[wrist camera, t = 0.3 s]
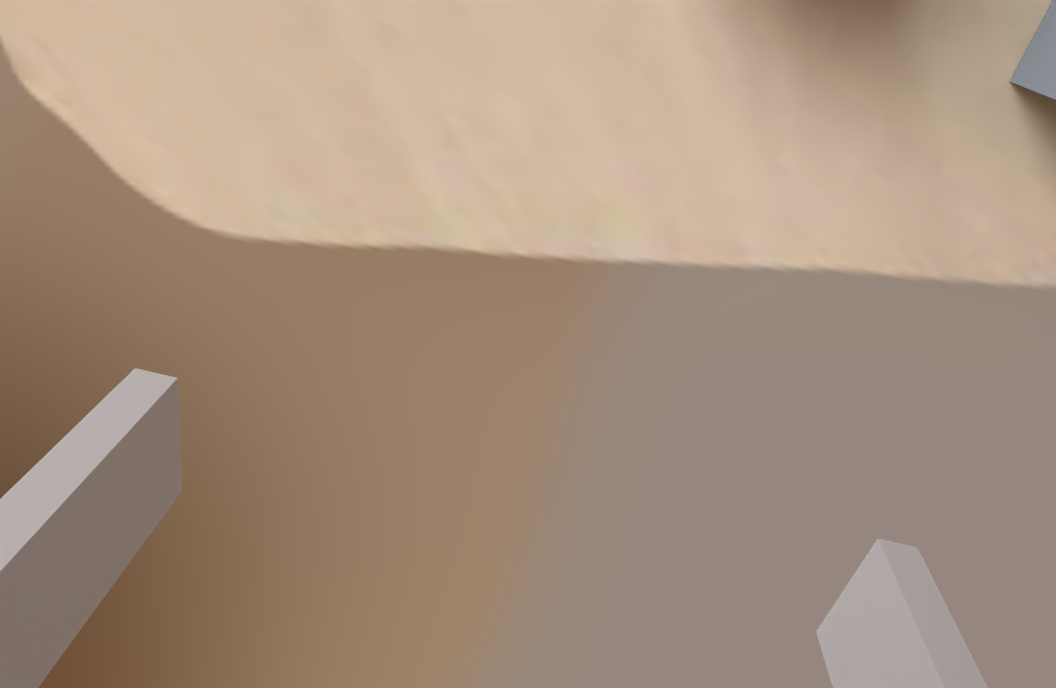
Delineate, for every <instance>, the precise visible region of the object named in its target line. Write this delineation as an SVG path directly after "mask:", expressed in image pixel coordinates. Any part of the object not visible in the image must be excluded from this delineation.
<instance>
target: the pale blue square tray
mask: <svg viewBox="0 0 1056 688" xmlns="http://www.w3.org/2000/svg"><path fill="white" fill-rule="evenodd" d="M1010 82H1012V83H1015V84H1017V85H1020V86H1022V87H1025V88H1027V89H1030V90H1032V91H1035V92H1037V93H1040V94H1042V95H1045V96H1048V97H1050V98H1053V99H1055V100H1056V0H1053V2H1052V4H1051V6H1050V7H1049V9H1048V11H1047V13H1046V15H1045V17H1044V19H1043V21H1042V22H1041V24H1040V26H1039V28H1038V30H1037V32H1036V34H1035V36H1034V37H1033V39H1032V41H1031V43H1030V45H1029V47H1028V49H1027V51H1026V52H1025V54H1024V56H1023V58H1022V60H1021V62H1020V64H1019V66H1018V67H1017V69H1016V71H1015V73H1014V75H1013V77H1012V79H1011V81H1010Z"/></svg>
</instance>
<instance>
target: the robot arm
mask: <svg viewBox="0 0 1056 688" xmlns="http://www.w3.org/2000/svg"><path fill="white" fill-rule="evenodd" d="M179 429H180V428H179V403H178V379H177V378H175V377H171V376H166V375H162V374H157V373H153V372H148V371H144V370H140V369H136V368H135V369H134V370H133V371H132V372H131V373H130V374H129V375H128V376H127V377H126V378H125V379H124V380H123V381H122V382H121V383H120V384H119V385H118V386H117V387H116V388H114V389H113V390H112V392H110V393H109V394H108V395H107V396H106V397H105V398H104V399H103V400H102V401H101V402H100V403H99V404H98V405H97V406H96V407H95V408H94V409H93V410H92V411H91V412H90V413H89V414H88V415H87V416H86V417H85V418H84V419H82V420H81V421H80V423H78V424H77V425H76V426H75V427H74V428H73V429H72V430H71V431H70V432H69V433H68V434H67V435H66V436H65V437H64V438H63V439H62V440H61V441H60V442H59V443H58V444H57V445H56V446H55V447H54V448H53V449H51V450H50V452H49V453H48V454H46V455H45V456H44V457H43V458H42V459H41V460H40V461H39V462H38V463H37V464H36V465H35V466H34V467H33V468H32V469H31V470H30V471H29V472H28V473H27V474H26V475H25V476H24V477H23V478H22V479H21V480H20V481H18V483H17V484H16V485H14V486H13V487H12V488H11V489H10V490H9V491H8V492H7V493H6V494H5V495H4V496H3V497H2V498H1V499H0V688H38V687H39V685H40V684H41V683H42V681H43V680H44V679H45V677H46V676H47V674H48V673H49V672H50V670H51V669H52V668H53V666H54V665H55V663H56V662H57V661H58V659H59V658H60V657H61V655H62V654H63V653H64V651H65V650H66V649H67V647H68V646H69V644H70V643H71V642H72V640H73V639H74V637H75V636H76V635H77V633H78V632H79V631H80V629H81V628H82V627H83V625H84V624H85V622H86V621H87V620H88V618H89V617H90V615H91V614H92V613H93V612H94V610H95V609H96V607H97V606H98V605H99V603H100V602H101V600H102V599H103V598H104V596H105V595H106V594H107V592H108V591H109V590H110V588H111V587H112V586H113V584H114V583H115V581H116V580H117V579H118V577H119V576H120V575H121V573H122V572H123V570H124V569H125V568H126V566H127V565H128V564H129V562H130V561H131V559H132V558H133V557H134V555H135V554H136V553H137V551H138V550H139V549H140V547H141V546H142V544H143V543H144V542H145V540H146V539H147V538H148V536H149V535H150V533H151V532H152V531H153V529H154V528H155V527H156V525H157V524H158V523H159V521H160V520H161V518H162V517H163V516H164V514H165V513H166V511H167V510H168V509H169V507H170V506H171V505H172V503H173V502H174V501H175V499H176V498H177V497H178V495H179V494H180V492H181V491H182V479H181V457H180V456H181V453H180V430H179ZM816 633H817V637H818V640H819V643H820V647H821V650H822V653H823V657H824V660H825V664H826V667H827V670H828V674H829V677H830V680H831V684H832V687H833V688H987V686H986V684H985V682H984V680H983V678H982V676H981V674H980V672H979V670H978V668H977V666H976V664H975V662H974V660H973V658H972V656H971V654H970V652H969V650H968V648H967V646H966V644H965V642H964V640H963V638H962V636H961V634H960V632H959V630H958V628H957V626H956V624H955V622H954V620H953V618H952V616H951V614H950V612H949V610H948V608H947V606H946V604H945V602H944V600H943V598H942V596H941V594H940V592H939V590H938V588H937V586H936V584H935V582H934V580H933V578H932V576H931V574H930V572H929V570H928V568H927V566H926V564H925V562H924V560H923V558H922V556H921V554H920V552H919V550H918V548H917V547H914V546H909V545H905V544H901V543H896V542H892V541H888V540H882V539H877V540H876V542H875V543H874V545H873V547H872V548H871V549H870V551H869V552H868V554H867V555H866V557H865V559H864V560H863V562H862V563H861V565H860V566H859V568H858V569H857V571H856V572H855V574H854V575H853V577H852V578H851V580H850V581H849V583H848V584H847V586H846V587H845V589H844V590H843V592H842V593H841V595H840V596H839V598H838V599H837V601H836V602H835V604H834V606H833V607H832V609H831V610H830V612H829V613H828V615H827V616H826V618H825V619H824V621H823V622H822V624H821V625H820V627H819V628H818V630H817V631H816Z"/></svg>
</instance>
